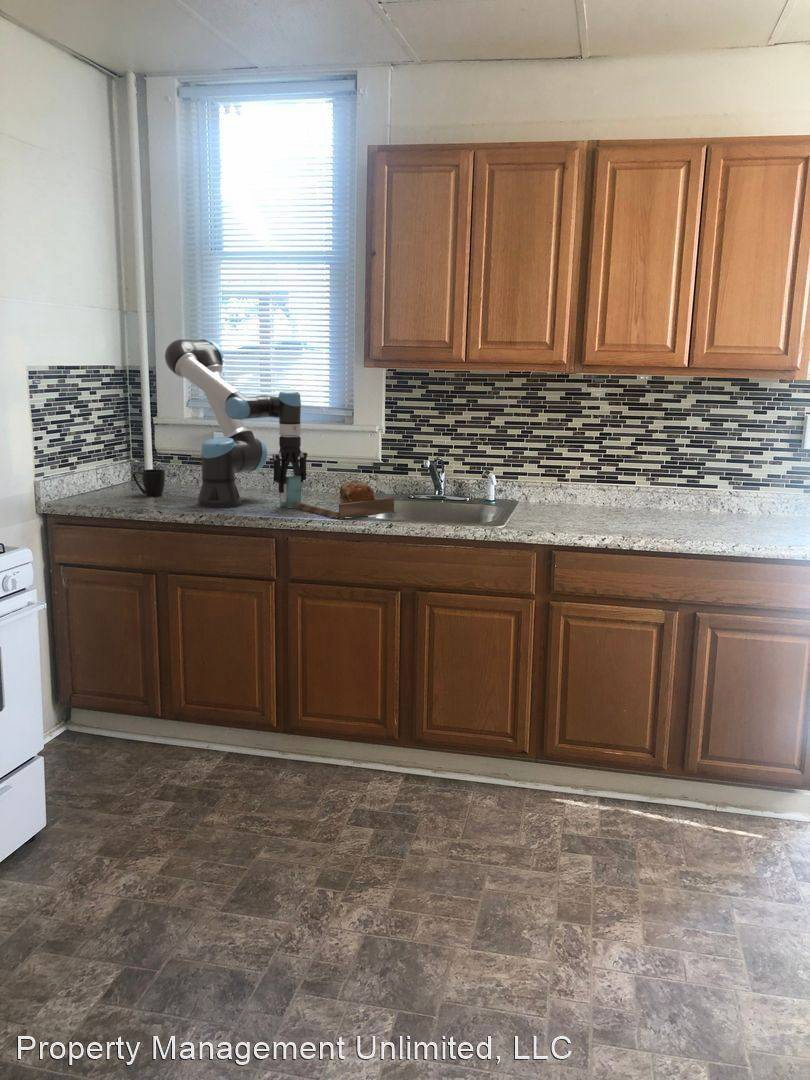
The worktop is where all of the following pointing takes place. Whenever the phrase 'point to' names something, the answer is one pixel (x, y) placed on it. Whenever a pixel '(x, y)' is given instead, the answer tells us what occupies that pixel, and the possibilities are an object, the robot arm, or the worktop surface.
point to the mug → (152, 482)
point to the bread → (355, 492)
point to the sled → (344, 509)
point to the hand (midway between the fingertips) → (290, 500)
